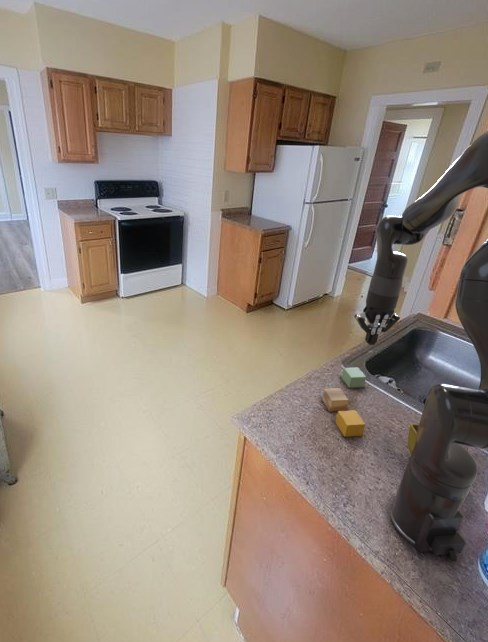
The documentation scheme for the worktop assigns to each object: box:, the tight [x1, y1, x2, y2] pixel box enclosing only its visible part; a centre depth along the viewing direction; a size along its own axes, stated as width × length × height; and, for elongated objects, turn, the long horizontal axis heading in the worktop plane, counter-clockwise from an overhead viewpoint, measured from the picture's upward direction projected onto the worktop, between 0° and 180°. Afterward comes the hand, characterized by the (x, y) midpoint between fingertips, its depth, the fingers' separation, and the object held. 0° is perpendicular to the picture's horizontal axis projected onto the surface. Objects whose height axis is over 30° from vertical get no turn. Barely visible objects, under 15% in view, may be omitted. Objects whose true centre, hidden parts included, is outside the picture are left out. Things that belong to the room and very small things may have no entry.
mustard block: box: [335, 409, 366, 438], centre depth 86 cm, size 5×5×4 cm
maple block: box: [321, 387, 349, 412], centre depth 94 cm, size 5×5×4 cm
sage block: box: [341, 367, 367, 389], centre depth 104 cm, size 5×5×4 cm
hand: (370, 343), depth 94 cm, fingers closed
